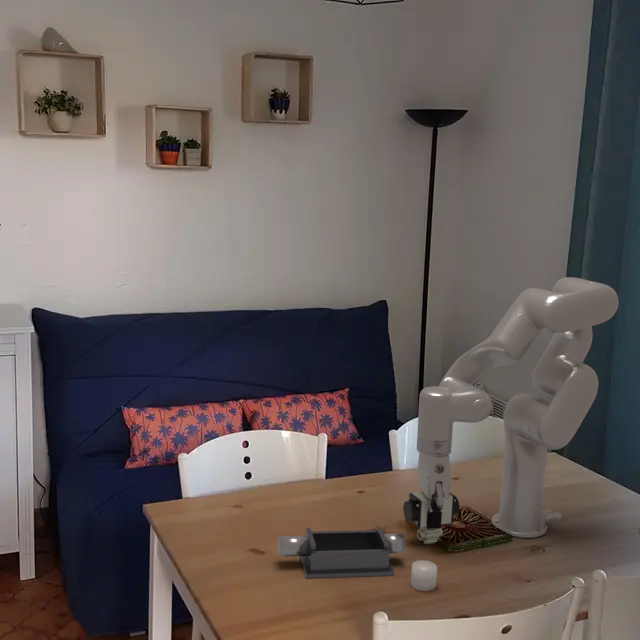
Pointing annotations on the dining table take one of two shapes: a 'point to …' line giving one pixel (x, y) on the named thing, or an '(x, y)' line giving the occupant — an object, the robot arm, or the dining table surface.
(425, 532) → the pneumatic valve
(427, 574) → the end cap
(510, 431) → the robot arm
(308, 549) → the pipe bracket
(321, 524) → the dining table surface
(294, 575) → the dining table surface
